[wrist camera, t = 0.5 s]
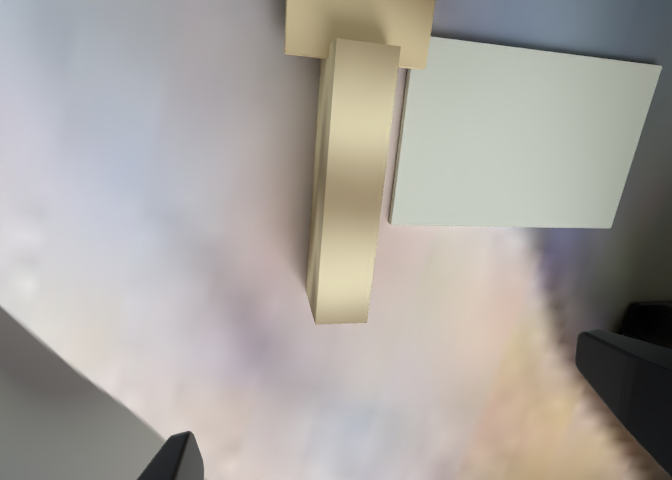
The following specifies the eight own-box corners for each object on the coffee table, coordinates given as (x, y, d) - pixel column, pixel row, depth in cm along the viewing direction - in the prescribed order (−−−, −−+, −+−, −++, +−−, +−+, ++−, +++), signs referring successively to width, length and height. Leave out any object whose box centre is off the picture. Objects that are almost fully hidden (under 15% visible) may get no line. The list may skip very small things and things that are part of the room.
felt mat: (655, 66, 21) (662, 65, 20) (605, 226, 24) (610, 228, 23) (412, 35, 18) (415, 34, 17) (388, 222, 21) (391, 224, 20)
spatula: (379, 289, 22) (401, 321, 19) (273, 291, 21) (277, 325, 18) (435, -139, 16) (481, -200, 13) (289, -174, 15) (300, -252, 11)
